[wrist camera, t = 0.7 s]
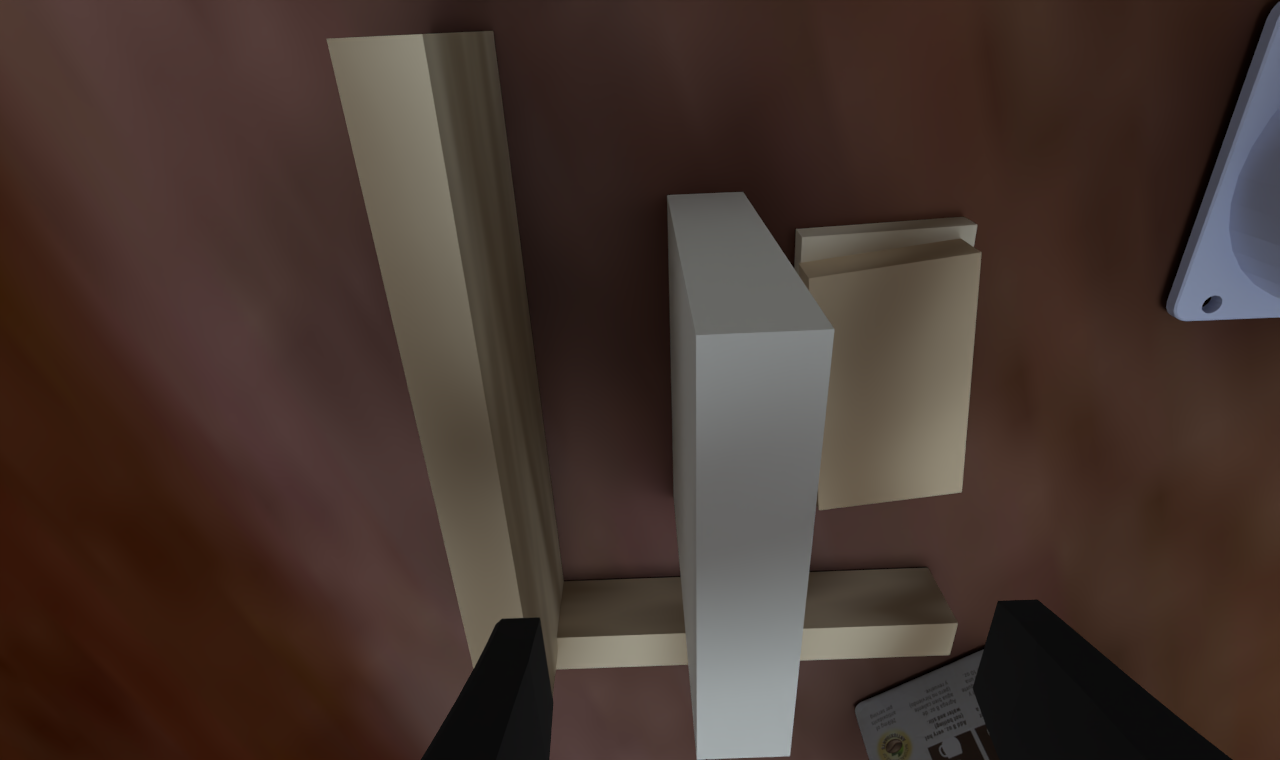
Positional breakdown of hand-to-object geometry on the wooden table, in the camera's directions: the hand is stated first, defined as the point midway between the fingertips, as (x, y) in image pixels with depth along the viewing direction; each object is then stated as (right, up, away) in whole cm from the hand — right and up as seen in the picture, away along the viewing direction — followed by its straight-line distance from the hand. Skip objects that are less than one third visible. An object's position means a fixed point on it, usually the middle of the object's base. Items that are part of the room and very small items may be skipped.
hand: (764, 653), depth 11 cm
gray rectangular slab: (0, +5, +9) cm, 10 cm away
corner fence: (0, +5, +9) cm, 10 cm away
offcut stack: (+5, +5, +9) cm, 12 cm away
